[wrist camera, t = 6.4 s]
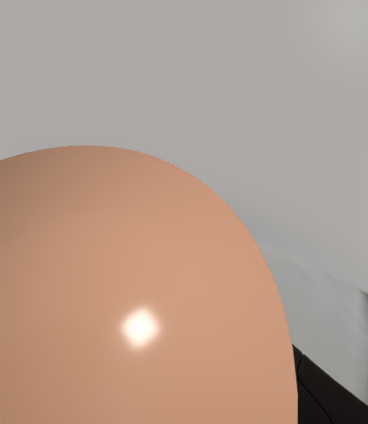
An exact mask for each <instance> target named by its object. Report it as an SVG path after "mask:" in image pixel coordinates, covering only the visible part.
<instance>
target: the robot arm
mask: <svg viewBox="0 0 368 424" xmlns="http://www.w3.org/2000/svg"><path fill="white" fill-rule="evenodd" d="M292 347H293V355H294V364H295V374H296V383H297V393H298V424H368V405H366V404H365V403H364V402H362V401H361V400H360V399H358V398H357V397H356V396H355V395H353V394H352V393H351V392H349V391H348V390H347V389H346V388H344V387H343V386H342V385H340V384H339V383H338V382H337V381H335V380H334V379H333V378H332V377H330V376H329V375H328V374H327V373H326V372H324V371H323V370H322V369H321V368H320V367H318V366H317V365H316V364H315V363H314V362H313V361H311V360H310V359H309V358H308V357H307V356H306V355H304V354H303V355H302V352H301V351H300V350H299V349H297V348H296V347H295V346H294V345H293V344H292Z"/></svg>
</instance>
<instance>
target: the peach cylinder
mask: <svg viewBox="0 0 368 424" xmlns="http://www.w3.org/2000/svg"><path fill="white" fill-rule="evenodd" d="M0 424H298V393H297V383H296V374H295V364H294V355H293V347H292V343H291V338H290V333H289V329H288V324H287V320H286V315H285V311H284V307H283V304H282V301H281V299H280V296H279V293H278V290H277V287H276V284H275V281H274V278H273V276H272V273H271V271H270V269H269V267H268V265H267V263H266V261H265V259H264V257H263V255H262V253H261V251H260V249H259V247H258V245H257V244H256V242H255V241H254V239H253V238H252V236H251V234H250V233H249V231H248V230H247V228H246V227H245V225H244V224H243V223H242V221H241V220H240V219H239V218H238V216H237V215H236V214H235V213H234V212H233V210H232V209H231V208H230V207H229V206H228V205H227V204H226V203H225V202H224V201H223V200H222V199H221V198H220V197H219V196H218V195H217V194H216V193H215V192H214V191H212V189H210V188H209V187H208V186H206V185H205V184H203V183H202V182H201V181H200V180H198V179H197V178H195V177H194V176H192V175H191V174H189V173H187V172H186V171H184V170H182V169H180V168H178V167H177V166H175V165H173V164H171V163H168V162H166V161H164V160H161V159H159V158H156V157H153V156H150V155H147V154H143V153H140V152H136V151H133V150H127V149H121V148H116V147H104V146H67V147H58V148H49V149H44V150H38V151H33V152H29V153H24V154H21V155H17V156H13V157H10V158H6V159H3V160H0Z"/></svg>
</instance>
